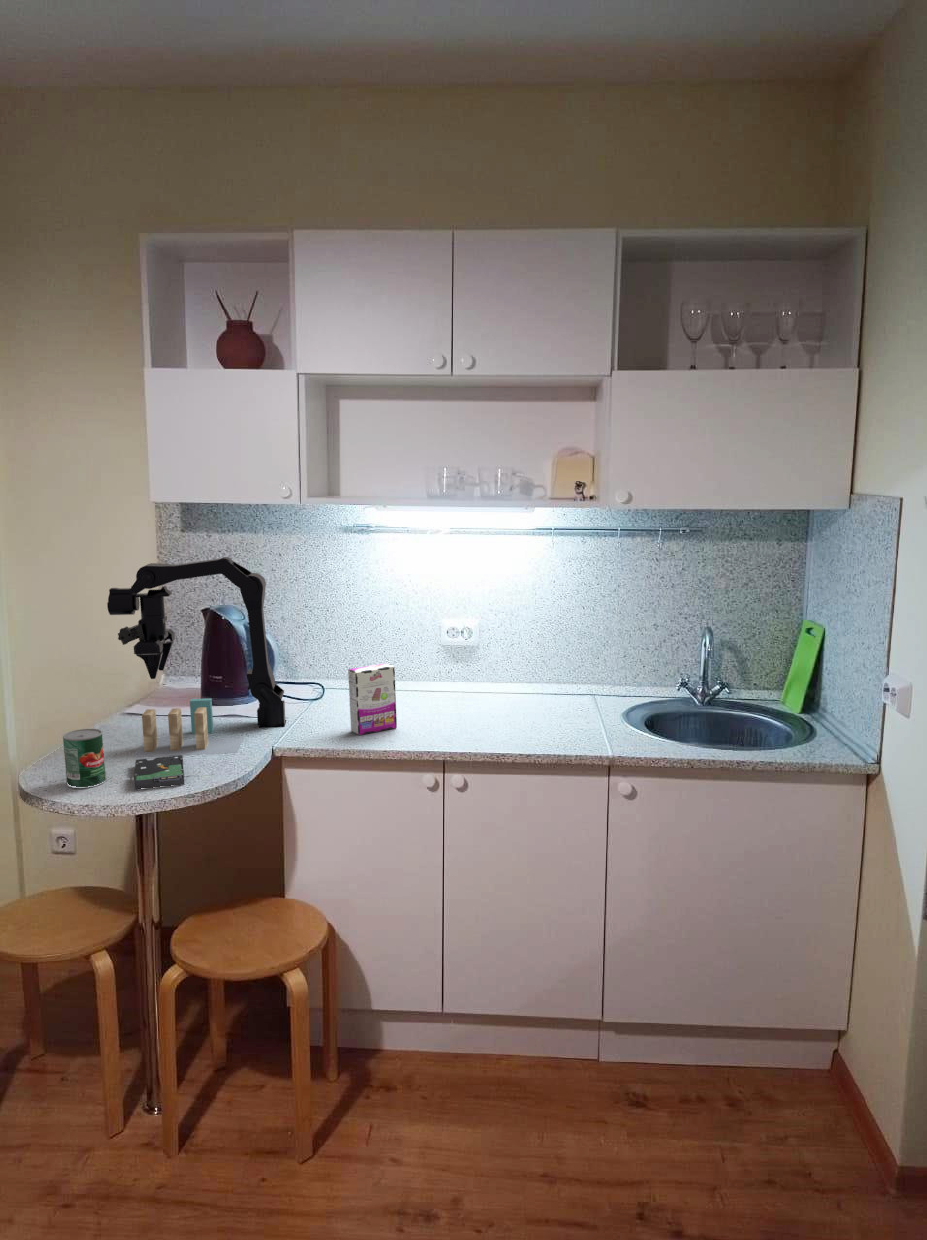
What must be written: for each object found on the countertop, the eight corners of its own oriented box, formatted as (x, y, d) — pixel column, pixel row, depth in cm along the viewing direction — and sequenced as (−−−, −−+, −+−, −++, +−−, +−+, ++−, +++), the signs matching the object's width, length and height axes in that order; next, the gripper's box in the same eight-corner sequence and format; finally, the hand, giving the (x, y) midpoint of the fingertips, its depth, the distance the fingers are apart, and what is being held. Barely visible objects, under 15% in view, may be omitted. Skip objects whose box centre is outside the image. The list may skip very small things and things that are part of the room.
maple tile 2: (208, 743, 227) (206, 707, 226) (205, 749, 222) (202, 712, 221) (200, 743, 227) (197, 707, 225) (196, 749, 222) (194, 713, 220)
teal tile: (193, 733, 237) (191, 699, 235) (213, 732, 237) (211, 698, 236) (192, 735, 235) (189, 701, 233) (212, 734, 236) (210, 700, 234)
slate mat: (243, 739, 231) (243, 737, 231) (237, 754, 220) (237, 752, 220) (144, 743, 229) (144, 741, 229) (132, 759, 217) (132, 757, 217)
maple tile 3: (183, 744, 227) (180, 708, 225) (179, 750, 222) (176, 713, 220) (174, 744, 226) (172, 708, 225) (170, 750, 221) (168, 714, 220)
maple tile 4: (157, 745, 226) (155, 709, 224) (153, 751, 221) (150, 714, 219) (149, 745, 226) (146, 709, 224) (144, 751, 221) (141, 715, 219)
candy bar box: (388, 723, 244) (386, 662, 241) (397, 728, 239) (395, 666, 236) (349, 731, 237) (347, 668, 235) (358, 736, 233) (356, 672, 230)
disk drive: (135, 771, 211) (134, 792, 197) (134, 759, 210) (133, 780, 197) (183, 766, 214) (185, 786, 200) (182, 754, 214) (184, 774, 200)
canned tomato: (74, 776, 206) (70, 728, 204) (111, 775, 206) (107, 727, 204) (61, 789, 198) (56, 739, 196) (99, 788, 198) (95, 738, 196)
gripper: (129, 608, 243) (133, 667, 246) (109, 621, 225) (114, 684, 228) (173, 607, 244) (177, 666, 247) (157, 620, 226) (161, 683, 229)
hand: (157, 674), depth 237 cm, fingers open, 9 cm apart
